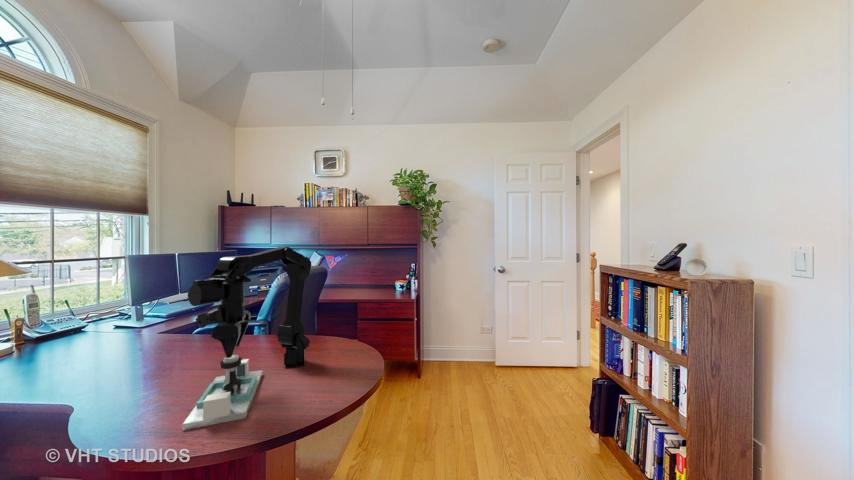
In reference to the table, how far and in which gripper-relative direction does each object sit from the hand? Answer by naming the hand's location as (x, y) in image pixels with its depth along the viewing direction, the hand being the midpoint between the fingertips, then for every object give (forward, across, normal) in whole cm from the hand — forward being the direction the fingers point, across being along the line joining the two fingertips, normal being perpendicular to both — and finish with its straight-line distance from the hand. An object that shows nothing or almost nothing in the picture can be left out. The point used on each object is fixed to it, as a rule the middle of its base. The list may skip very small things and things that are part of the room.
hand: (233, 351), depth 86 cm
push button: (+11, +2, -1) cm, 11 cm away
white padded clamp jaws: (+11, +2, -1) cm, 11 cm away
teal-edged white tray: (+13, +2, -1) cm, 13 cm away
